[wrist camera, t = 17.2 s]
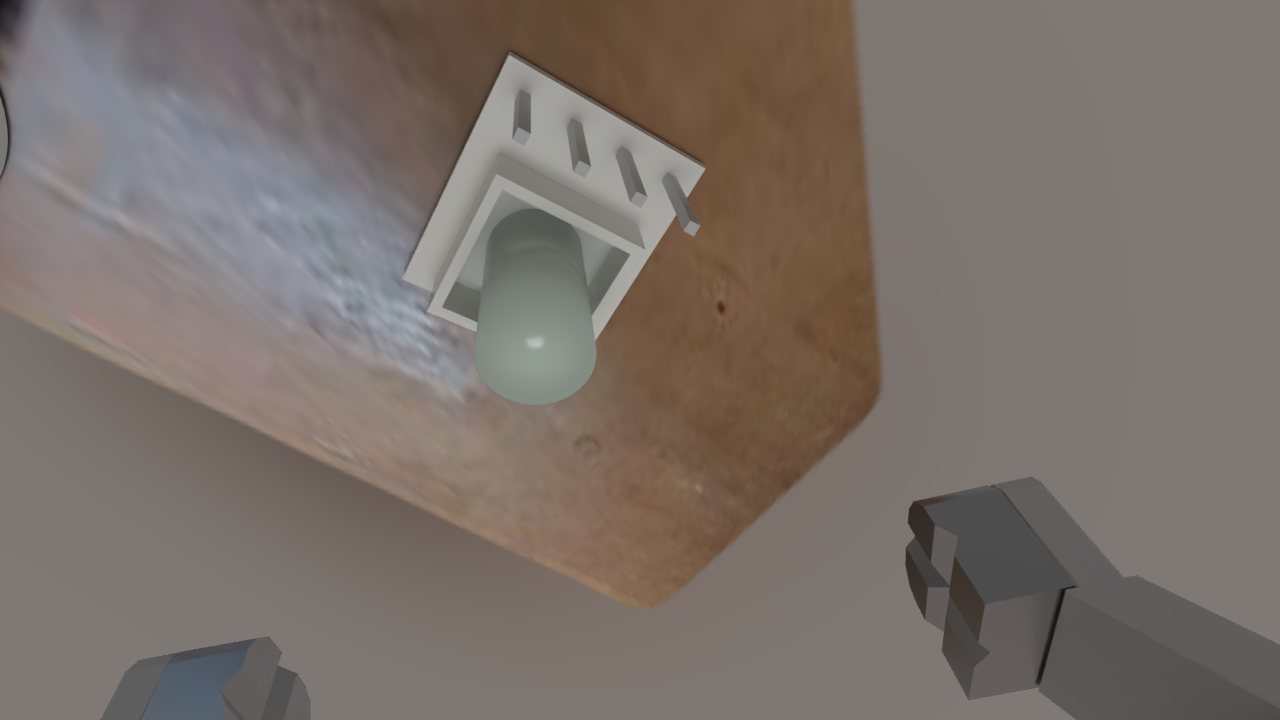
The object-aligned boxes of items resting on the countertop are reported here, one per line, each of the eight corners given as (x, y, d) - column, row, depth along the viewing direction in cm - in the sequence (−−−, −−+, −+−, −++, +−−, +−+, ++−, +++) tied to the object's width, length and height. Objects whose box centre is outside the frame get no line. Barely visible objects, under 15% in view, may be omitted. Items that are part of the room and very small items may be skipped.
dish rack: (583, 349, 47) (592, 425, 41) (404, 271, 43) (381, 342, 36) (702, 163, 42) (734, 216, 35) (509, 51, 37) (505, 87, 31)
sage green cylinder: (500, 303, 44) (492, 414, 35) (474, 218, 41) (458, 316, 32) (590, 286, 44) (606, 392, 35) (571, 200, 41) (583, 291, 32)
